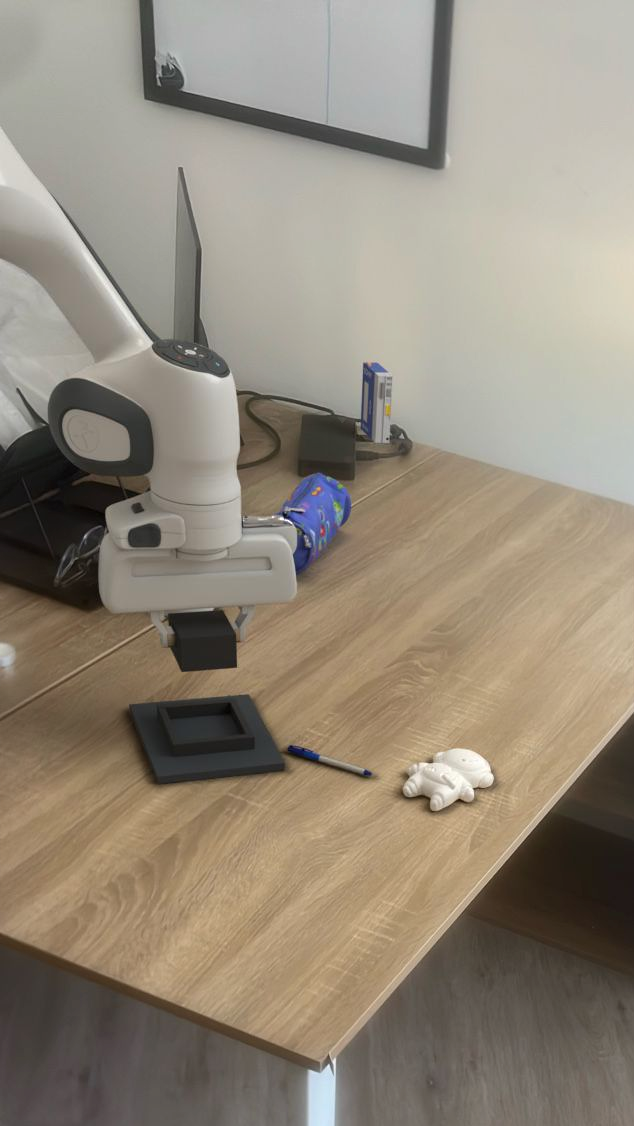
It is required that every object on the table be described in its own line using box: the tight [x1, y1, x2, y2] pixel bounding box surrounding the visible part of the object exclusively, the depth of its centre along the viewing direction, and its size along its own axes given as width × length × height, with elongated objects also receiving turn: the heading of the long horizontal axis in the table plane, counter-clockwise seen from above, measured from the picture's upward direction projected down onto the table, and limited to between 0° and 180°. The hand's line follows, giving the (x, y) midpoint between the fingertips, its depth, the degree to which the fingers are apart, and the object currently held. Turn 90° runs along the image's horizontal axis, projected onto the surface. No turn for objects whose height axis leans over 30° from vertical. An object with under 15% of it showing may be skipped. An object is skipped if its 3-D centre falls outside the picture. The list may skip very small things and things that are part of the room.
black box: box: [167, 609, 238, 673], centre depth 138 cm, size 6×6×4 cm
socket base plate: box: [128, 693, 286, 785], centre depth 145 cm, size 14×16×3 cm
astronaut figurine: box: [402, 748, 495, 812], centre depth 144 cm, size 9×12×3 cm
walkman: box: [360, 361, 394, 444], centre depth 230 cm, size 8×3×12 cm, turn 27°
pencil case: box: [272, 472, 352, 576], centre depth 186 cm, size 22×9×10 cm, turn 171°
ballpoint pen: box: [286, 744, 373, 777], centre depth 145 cm, size 10×1×1 cm, turn 72°
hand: (202, 642), depth 138 cm, fingers closed on black box, 6 cm apart
